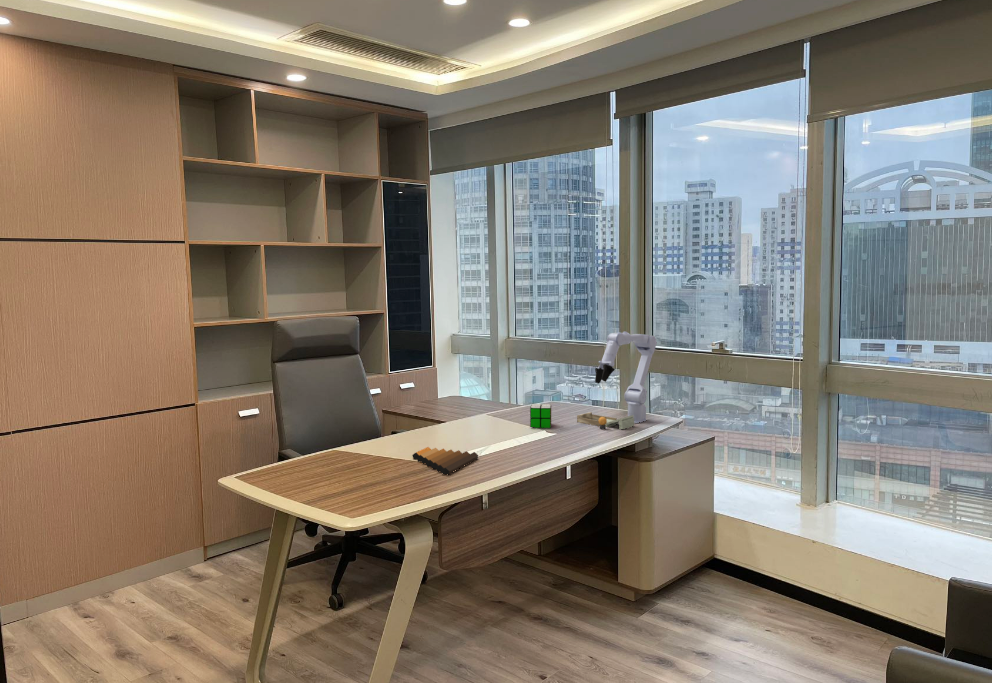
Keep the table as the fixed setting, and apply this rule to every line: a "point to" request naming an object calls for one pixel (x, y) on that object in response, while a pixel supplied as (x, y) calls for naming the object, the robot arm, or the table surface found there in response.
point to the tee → (602, 426)
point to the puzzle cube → (540, 415)
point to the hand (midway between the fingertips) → (600, 381)
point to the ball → (602, 420)
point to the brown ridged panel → (444, 459)
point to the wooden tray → (591, 418)
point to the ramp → (621, 422)
